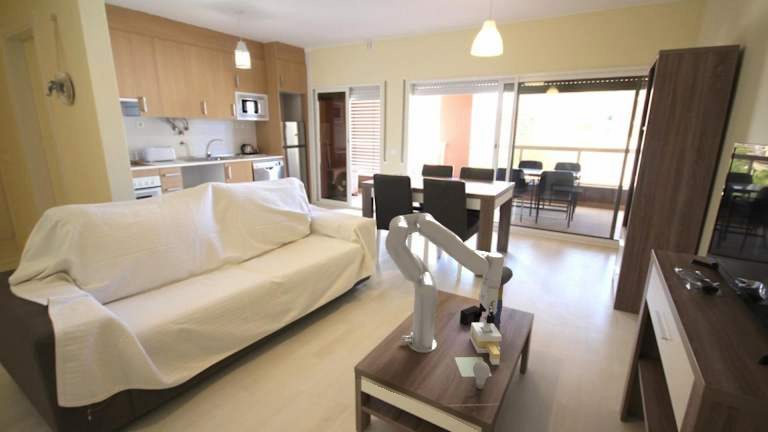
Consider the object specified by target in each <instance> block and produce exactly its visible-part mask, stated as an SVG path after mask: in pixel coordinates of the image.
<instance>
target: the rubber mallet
mask: <svg viewBox="0 0 768 432" xmlns="http://www.w3.org/2000/svg"><path fill="white" fill-rule="evenodd" d="M513 275H514V273H513V270H512V269H511V268H510V267H508V266H503V270H502V277H501V283H500V287H499V291H498V303H497V312H496V315H495V319H494V323H493V324H494V325H495V327H499V326H500V325H501V323H502V321H501V317H502V316H501V315H502V310H503V293H504V286H505V285H506V284H507V283H508V282H509V281H511V279H512V278H513Z"/></svg>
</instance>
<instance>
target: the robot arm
mask: <svg viewBox="0 0 768 432" xmlns="http://www.w3.org/2000/svg"><path fill="white" fill-rule="evenodd" d="M413 233H418V234H419V236H421V237H422V238H424V239H425V240H427V241H429V242H430V243H431V244H432V245H435V246H436V247H438V248H439V249H441V250H442V251H443V252H444V253H445V254H447V255H448V256H450V257H451V258H452V259H453V260H455V261H456V262H457V263H458V264H460V266H463V267H464V268H465V269H466V270H468V271H470V273H473V274H474V275H477V276H482V279H481V286H480V290H479V295H478V300H479V306H478V307H479V312H482V313H486V312H487V313H488V314H486V315H487V320H486V323H491V324H493V323H494V319H495V315H496V312H497V303H498V291H499V287H500V283H501V277H502V270H503V267H504V262H505V257H504V255H503V254H501V253H499V252H492V251H491V252H490V251H489V252H487V251H482V250H477V249H472V248H470V247H469V246H467V245H466V244H465V242H463V240H462V239H461V238H460V237H459V235H457V234H456V233H454V232H453V231H452V230H450V229H449V228H447V227H445V226H444V225H442V224H441V223H440V222H439V221H437V220H436V219H435V218H434V217H433V215H431V214H430V213H429V212H421V213H420V212H419V213H418V212H417V213H411V214H404V215H403V214H402V215H397V216H395V217H393V218H392V219H391V221H390V222H389V227H388V233H387V236H386V238H385V243H384V246H385V250H386V251H387V254H388V255H389V257H390V258H391V260H392V261H393V262H394V264H395V266H396V267H397V268H398V270H399V271H400V273H401V275H402V276H403V278H404V279H405V280H407V281H408V282H411V283H412V284H413V288H414V299H413V300H414V301H413V302H414V303H413V311H412V313H413V314H412V315H413V316H412V317H413V318H412V332H410V334H408V335H401V340H402V341H404V342H405V343H406V344H407V343H408V347H409V348H410V349H411V350H412V351H414V352H417V353H424V354H425V353H426V354H427V353H431V352H434V351H435V350H436V349H437V346H438V345H437V340H435V337H434V335H435V323H436V306H437V301H438V288H437V284H436V282H435V279H434V276H433V274H432V273H431V271H430V270H429V268H428V267H427V266H426V264H425V262H424V261H423V259H422V258H421V257H420V256H419V255H418V254H416V253H414V252H412V250H410V248H409V246H408V245H407V240H408V238H409V236H410V234H413ZM491 310H492V311H491Z"/></svg>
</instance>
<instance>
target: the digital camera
mask: <svg viewBox="0 0 768 432" xmlns="http://www.w3.org/2000/svg"><path fill="white" fill-rule="evenodd" d="M482 317H483V312H479V306H477V305H472V306H469V307H467V308H464V309H462V310H460V316H459V318H460V319H459V323H460V324H461V325H462V326H465V327H468V326H471V323H479V322H480V321H481V318H482Z"/></svg>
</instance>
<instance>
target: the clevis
mask: <svg viewBox="0 0 768 432" xmlns="http://www.w3.org/2000/svg"><path fill="white" fill-rule="evenodd" d="M483 325H484V322H476V323H471V325H470V334H469V340H470V341H471V343H472V345H473V347H474V349H475V351H476V353H477V354H489V361H490V364H491V365H493V366H495V365H500V359H501V347H500V343H501V342H502V341H503V340H502V339H503V336H502V334H501V333H500V331H499V330H498V328H497V326H495V325H494V324H491V326H490V333H483Z"/></svg>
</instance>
